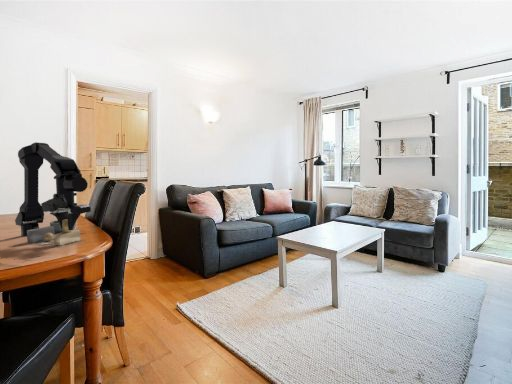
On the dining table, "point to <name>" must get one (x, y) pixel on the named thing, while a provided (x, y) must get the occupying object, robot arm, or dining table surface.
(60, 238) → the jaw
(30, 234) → the base
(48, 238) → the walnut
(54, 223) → the mortar and pestle
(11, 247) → the dining table surface
